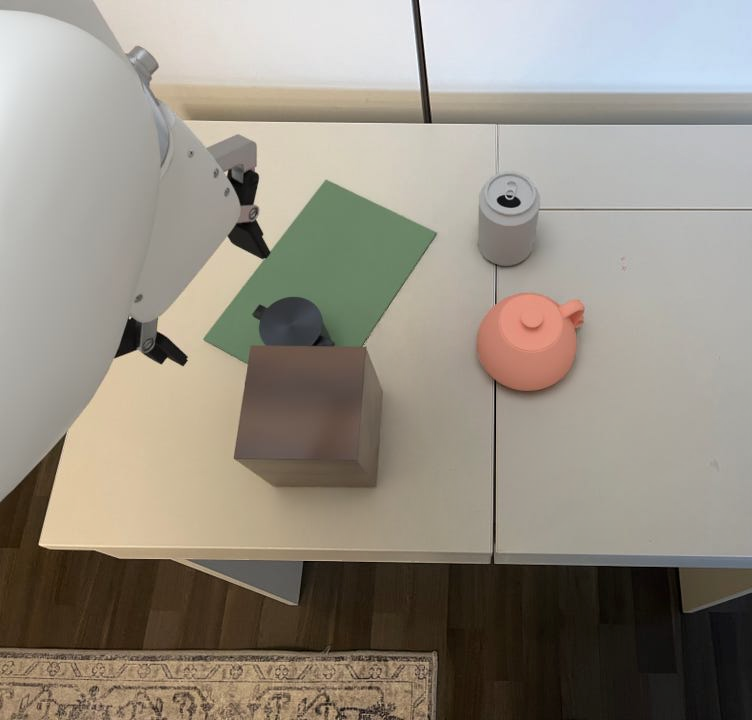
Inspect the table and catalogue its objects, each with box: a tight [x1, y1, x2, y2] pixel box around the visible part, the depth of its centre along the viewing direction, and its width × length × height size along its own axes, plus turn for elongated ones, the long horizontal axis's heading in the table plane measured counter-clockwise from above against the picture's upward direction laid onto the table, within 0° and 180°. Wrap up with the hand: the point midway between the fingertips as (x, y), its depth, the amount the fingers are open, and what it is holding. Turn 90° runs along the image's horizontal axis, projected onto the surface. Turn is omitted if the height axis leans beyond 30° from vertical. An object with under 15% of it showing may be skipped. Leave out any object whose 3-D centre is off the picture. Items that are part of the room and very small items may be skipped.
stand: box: [233, 345, 384, 489], centre depth 72 cm, size 12×12×14 cm
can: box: [477, 170, 541, 267], centre depth 84 cm, size 8×8×12 cm
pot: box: [252, 297, 335, 347], centre depth 80 cm, size 7×11×6 cm
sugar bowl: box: [476, 292, 586, 392], centre depth 79 cm, size 12×14×10 cm
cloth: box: [202, 179, 438, 365], centre depth 86 cm, size 28×18×1 cm, turn 151°
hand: (212, 299), depth 47 cm, fingers open, 9 cm apart
